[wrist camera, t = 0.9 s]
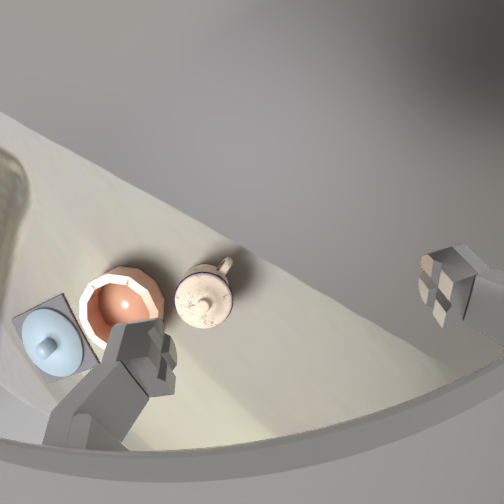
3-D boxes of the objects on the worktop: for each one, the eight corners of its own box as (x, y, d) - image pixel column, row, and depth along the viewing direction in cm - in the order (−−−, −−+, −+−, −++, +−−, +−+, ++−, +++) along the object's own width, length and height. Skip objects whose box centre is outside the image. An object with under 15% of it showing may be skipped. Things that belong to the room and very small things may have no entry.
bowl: (176, 324, 57) (172, 338, 50) (114, 348, 57) (104, 364, 50) (143, 254, 55) (134, 261, 48) (81, 284, 54) (66, 293, 47)
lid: (96, 364, 56) (88, 375, 51) (47, 381, 55) (37, 392, 50) (60, 297, 53) (49, 304, 48) (13, 321, 53) (1, 328, 48)
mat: (100, 364, 57) (99, 365, 56) (47, 382, 56) (46, 383, 55) (62, 293, 54) (61, 294, 53) (12, 318, 53) (11, 319, 52)
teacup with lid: (211, 320, 58) (211, 346, 47) (170, 293, 57) (160, 313, 45) (250, 268, 58) (258, 283, 46) (208, 238, 56) (206, 246, 45)
